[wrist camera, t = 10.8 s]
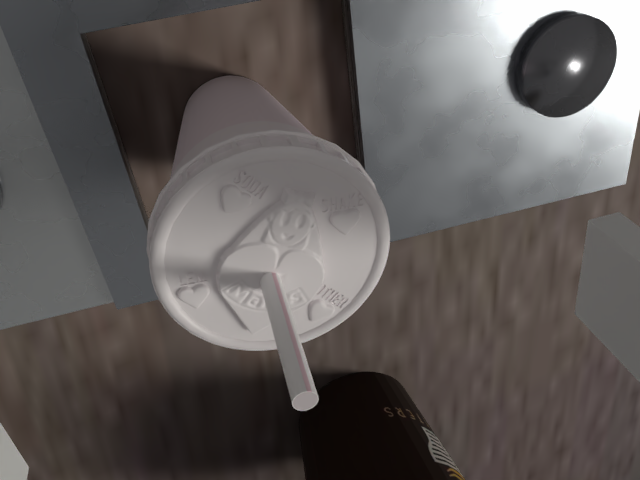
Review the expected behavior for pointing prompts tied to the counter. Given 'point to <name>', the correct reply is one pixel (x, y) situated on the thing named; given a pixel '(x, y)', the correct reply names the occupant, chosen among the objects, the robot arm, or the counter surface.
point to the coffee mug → (370, 434)
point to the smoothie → (263, 229)
